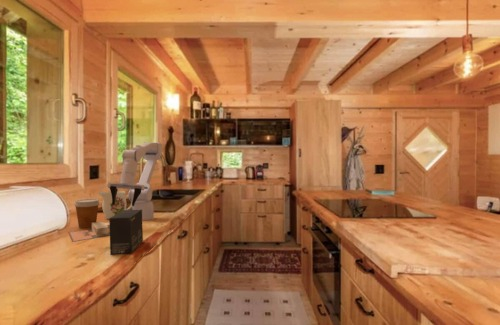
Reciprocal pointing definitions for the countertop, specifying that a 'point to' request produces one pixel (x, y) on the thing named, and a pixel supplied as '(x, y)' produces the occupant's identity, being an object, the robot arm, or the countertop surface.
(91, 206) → the disposable coffee cup
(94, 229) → the t block
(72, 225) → the countertop surface
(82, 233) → the mat
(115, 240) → the small box
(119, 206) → the pitcher
